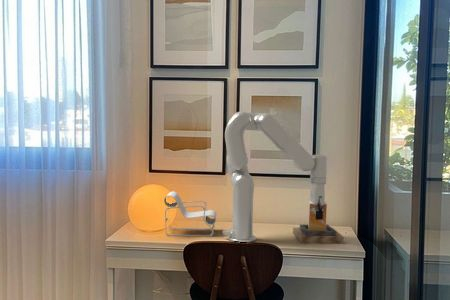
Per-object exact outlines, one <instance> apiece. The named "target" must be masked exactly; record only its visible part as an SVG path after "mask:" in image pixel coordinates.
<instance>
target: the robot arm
mask: <svg viewBox="0 0 450 300" xmlns="http://www.w3.org/2000/svg"><path fill="white" fill-rule="evenodd" d="M245 131H257V132H262V133H263V134H264V135H265V136H266V137H267V138H268V139H269V141H271V143H272V144H273V145H274V146H275V147H276V148H277V149H278V150H280V151H281V152H282V153H285V155H287V156H288V157H289V158H290V159H291V160H292V162H293V165H294V167H295V168H297V169H298V170H300V171H303V172H310V173H309V174H310V177H309V179H310V180H309V184H310V192H309V201H310V202H312V203H313V205H316V208H317V211H316V220H322V219H323V205H324V202H325V195H326V194H325V193H326V192H325V191H326V190H325V185H327V171H328V170H327V167H328V158H327V156H326V155H324V154H310V153H309V152H308V150H307V149H305V148H304V147H303V146H302V145H301V144H300V143H299V142H298V141H297V140H296V139H295V138H294V137H293V136H292V135H291V134H290V133H289V132H288V130H286V129H285V128H284V126H282V125H281V123H280V122H279V121H278V120H277V118H275V116H273V115H272V114H271V113H269V112H264V113H262V112H261V113H255V112H246V111H242V110H241V111H237V112H235V113H234V114H233V115H232V117H231V118H230V120H229V121H228V123H227V124H226V127H225V131H224V141H225V146H226V152H227V155H226V165H227V169H228V175H229V178H230V179H229V180H230V183H231V186H232V189H233V190H232V228H231V229H229V230H222V235H223V236H225V237H226V236H227V237H228V236H229V237H228V240H230V241H231V242H234V241H239V242H238V243H240V242H247V243H253V242H255V241H257V237H256V235H254V234H253V232H254V231H253V229H254V228H253V225H254V223H253V222H254V193H255V182H254V179H253V177H252V175H251V174H250V172H249V168H248V164H249V157H248V153H247V149H246V146H245V139H244V133H245ZM318 206H319V207H318Z"/></svg>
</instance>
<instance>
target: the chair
mask: <svg viewBox="0 0 450 300" xmlns="http://www.w3.org/2000/svg"><path fill="white" fill-rule="evenodd" d="M166 197H168V198H169V197H172V198H173V199H174V200H175V201H174V202H175V203H172V204H169V203H167V202H166ZM163 202H164V205H165V206H166V207H167V208H165V210H164V222H165V223H164V227H165V229H164V230H165V235H166V236H169V237H171V236H172V237H175V236H176V237H177V236H179V237H181V236H182V237H189V236H190V237H212V236H213V235H214V232H215V231H214V228H215V223H216V222H217V221H216V220H217V212H216V211H215V210H213V209H208V210H207V202H206V201H203V200H196V201H193V200H192V201H182V199H181V196H180V195H179V193H178V192H176V191H174V190H173V191H170V192H168V194H167V195H166V196H165V198H164V199H163ZM187 203H189V204H190V203H204V205H205V206H203V205H191V206H185V205H184V204H187ZM177 205H178V206H177ZM169 207H170V208H169ZM186 208H202V209H203V210H201V211H193V212H190V211H187V209H186ZM169 209H170V210H171V209H179V210H180V213H181V214H182V216H183V218H185V219H194V218H201V217H202V218H203V222H204V223H205V224H206V225H207V226H208V227H209V228H202V231H203V230H206V231H207V230H211V233H210V234H168V231H167V222H168V221H169V219H168V218H167V211H168V210H169ZM211 226H212V227H211ZM168 227H169V229H171V230H201V227H200V228H197V227H196V228H193V227H192V228H191V227H186V228H185V227H179V228H177V227H172V226H171V224H170V225H169V224H168Z"/></svg>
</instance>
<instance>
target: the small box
mask: <svg viewBox="0 0 450 300" xmlns="http://www.w3.org/2000/svg"><path fill="white" fill-rule="evenodd" d="M318 207H319V206H318ZM327 207H328V205H327V202H326V201H324V205H323V219H322V220H316V211H317V208H316V205H313V203H312V202H310V200H309V201H308V223H307V225H308V228H309V230H315V231H326V225H327Z"/></svg>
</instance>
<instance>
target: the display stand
mask: <svg viewBox="0 0 450 300" xmlns="http://www.w3.org/2000/svg"><path fill="white" fill-rule="evenodd" d="M292 234H293V236H294V237H295V239H296V240H297V241H298V243H300V244H345V243H344V241H345V240H344V239H345V237H344V235H342V234H341V233H340V232H338V231H337V230H336V229H335V228H334V227H331V225H329V224H326V231H315V230H309V228H308V224H299V227H292Z"/></svg>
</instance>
